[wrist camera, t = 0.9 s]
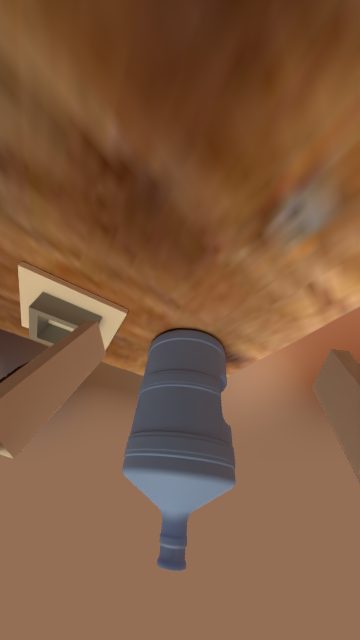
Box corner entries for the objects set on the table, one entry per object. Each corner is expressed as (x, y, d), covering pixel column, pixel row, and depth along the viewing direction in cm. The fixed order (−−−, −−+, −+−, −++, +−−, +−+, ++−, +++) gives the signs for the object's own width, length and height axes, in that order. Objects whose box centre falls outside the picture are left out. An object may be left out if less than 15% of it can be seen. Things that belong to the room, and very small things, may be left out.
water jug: (139, 354, 42) (87, 547, 23) (172, 314, 32) (124, 605, 13) (197, 375, 47) (192, 548, 28) (241, 346, 37) (282, 590, 18)
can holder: (25, 322, 37) (9, 340, 34) (22, 261, 26) (-2, 279, 23) (104, 350, 42) (96, 368, 39) (128, 309, 32) (120, 329, 29)
